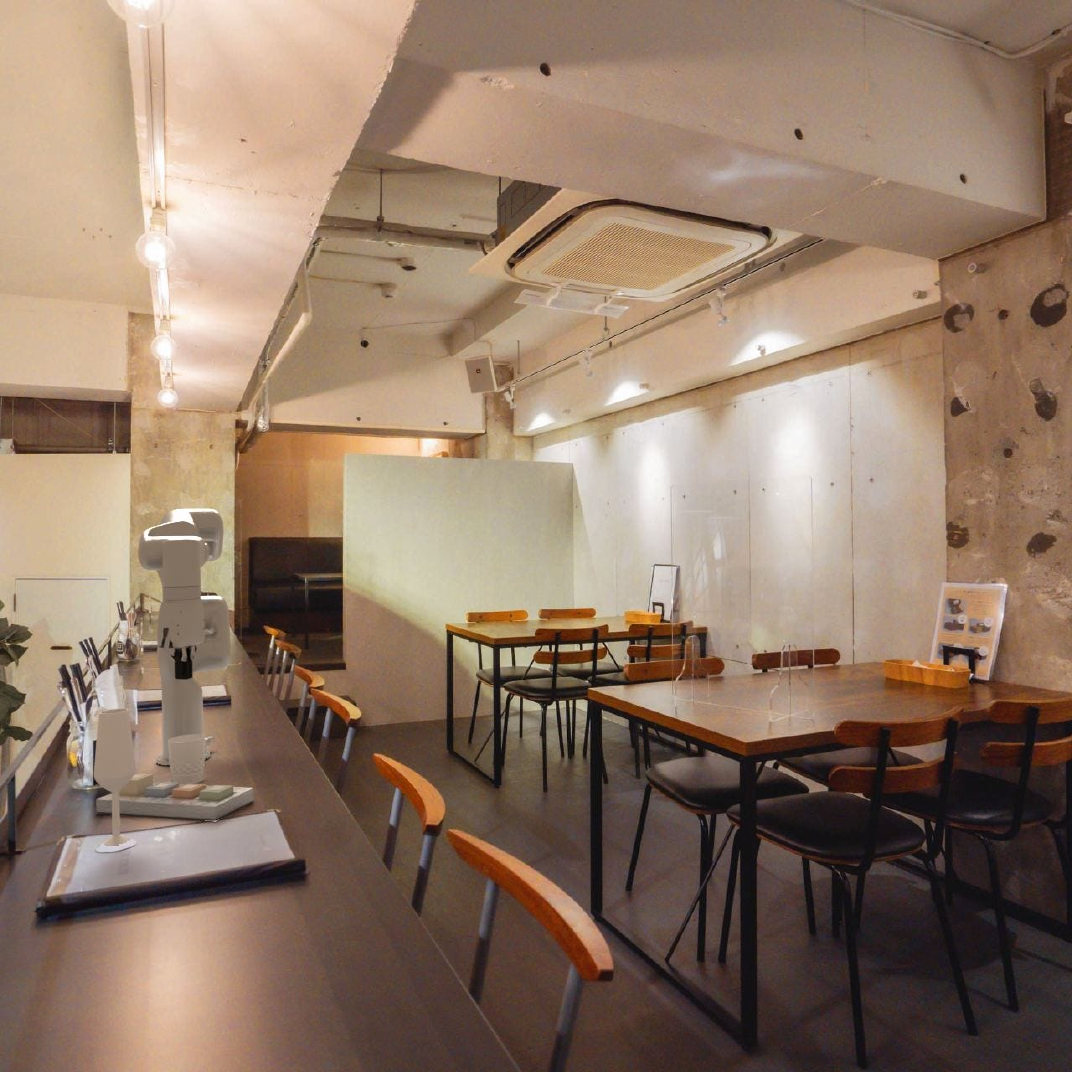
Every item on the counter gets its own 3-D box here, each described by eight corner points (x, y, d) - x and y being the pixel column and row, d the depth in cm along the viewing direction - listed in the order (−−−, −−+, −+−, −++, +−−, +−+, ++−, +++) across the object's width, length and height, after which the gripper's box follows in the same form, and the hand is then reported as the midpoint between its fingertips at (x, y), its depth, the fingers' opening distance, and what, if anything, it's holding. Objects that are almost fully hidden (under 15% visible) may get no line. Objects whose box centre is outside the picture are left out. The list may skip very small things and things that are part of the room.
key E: (214, 801, 159) (214, 784, 159) (233, 803, 158) (233, 785, 158) (199, 809, 155) (199, 790, 155) (219, 810, 153) (218, 792, 154)
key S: (135, 789, 164) (135, 772, 164) (153, 790, 163) (152, 773, 163) (118, 796, 160) (118, 778, 160) (137, 797, 158) (136, 779, 158)
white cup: (191, 787, 173) (191, 742, 173) (160, 786, 175) (160, 742, 175) (213, 777, 181) (212, 734, 181) (183, 776, 182) (182, 733, 183)
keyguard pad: (140, 795, 168) (140, 781, 168) (253, 802, 161) (253, 788, 161) (96, 814, 156) (96, 799, 156) (215, 822, 149) (215, 806, 149)
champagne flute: (97, 842, 140) (95, 709, 141) (138, 836, 143) (136, 706, 143) (92, 855, 134) (90, 716, 134) (135, 848, 137) (133, 712, 137)
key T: (161, 798, 162) (161, 781, 162) (179, 799, 161) (179, 782, 161) (145, 805, 158) (145, 787, 158) (164, 806, 157) (163, 789, 157)
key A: (187, 800, 161) (187, 782, 161) (206, 801, 159) (206, 783, 160) (172, 807, 156) (172, 789, 156) (191, 808, 155) (191, 790, 155)
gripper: (191, 591, 176) (192, 671, 176) (142, 597, 161) (143, 685, 162) (219, 591, 174) (221, 672, 174) (172, 598, 159) (174, 686, 160)
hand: (183, 678), depth 168 cm, fingers closed
